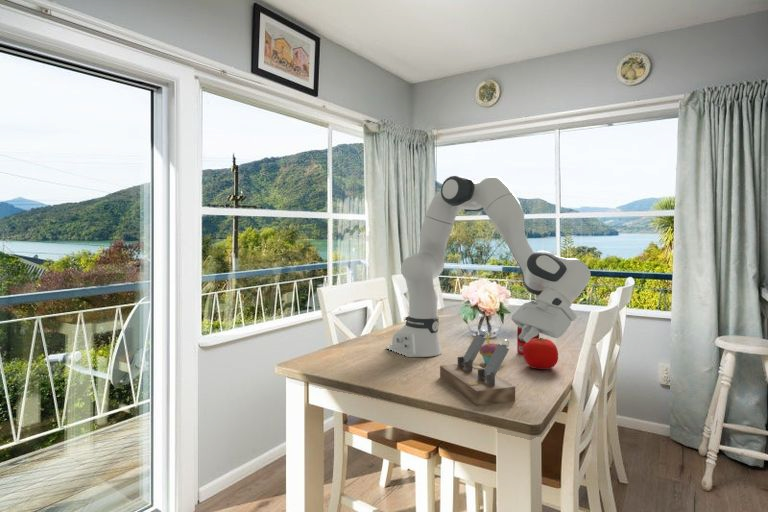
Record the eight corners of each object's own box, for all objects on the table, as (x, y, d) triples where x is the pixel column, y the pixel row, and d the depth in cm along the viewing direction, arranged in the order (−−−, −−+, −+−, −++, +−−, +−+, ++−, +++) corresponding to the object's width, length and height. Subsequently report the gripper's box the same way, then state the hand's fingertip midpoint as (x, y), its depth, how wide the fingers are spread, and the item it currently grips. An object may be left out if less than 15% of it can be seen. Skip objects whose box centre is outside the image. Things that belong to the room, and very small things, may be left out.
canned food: (540, 357, 166) (540, 328, 165) (518, 356, 167) (518, 327, 167) (537, 351, 173) (537, 324, 173) (516, 350, 175) (516, 323, 174)
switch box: (473, 374, 146) (473, 352, 145) (515, 400, 123) (515, 375, 122) (440, 377, 142) (440, 355, 142) (476, 405, 119) (477, 379, 119)
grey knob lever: (465, 364, 141) (483, 330, 142) (471, 367, 137) (489, 333, 138) (460, 360, 140) (478, 327, 141) (465, 364, 137) (484, 330, 138)
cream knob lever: (486, 376, 128) (506, 340, 129) (493, 380, 125) (513, 343, 126) (481, 373, 128) (501, 336, 129) (487, 377, 124) (507, 339, 125)
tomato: (549, 362, 159) (549, 333, 158) (564, 373, 147) (564, 342, 146) (518, 362, 158) (518, 334, 158) (530, 373, 146) (531, 342, 146)
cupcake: (486, 368, 152) (486, 333, 152) (474, 361, 161) (475, 328, 160) (508, 366, 155) (508, 332, 154) (496, 359, 163) (496, 327, 162)
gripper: (523, 293, 140) (496, 326, 138) (568, 303, 121) (537, 341, 119) (535, 306, 142) (508, 338, 140) (581, 318, 123) (551, 355, 120)
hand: (522, 340), depth 129 cm, fingers closed
